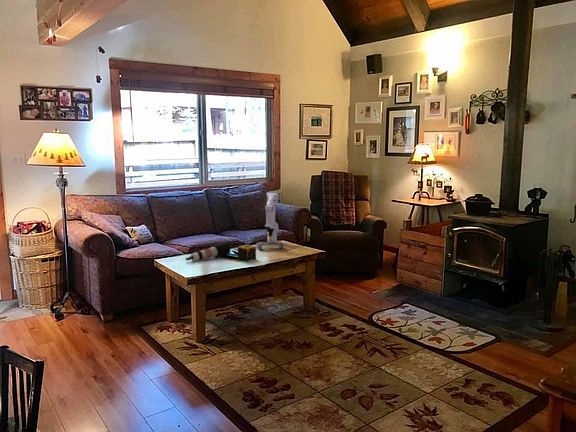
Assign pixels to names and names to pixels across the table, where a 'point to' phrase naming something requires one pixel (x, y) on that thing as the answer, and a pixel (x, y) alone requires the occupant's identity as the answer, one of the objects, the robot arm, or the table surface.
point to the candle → (246, 253)
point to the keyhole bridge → (260, 244)
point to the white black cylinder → (211, 252)
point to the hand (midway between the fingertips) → (269, 236)
